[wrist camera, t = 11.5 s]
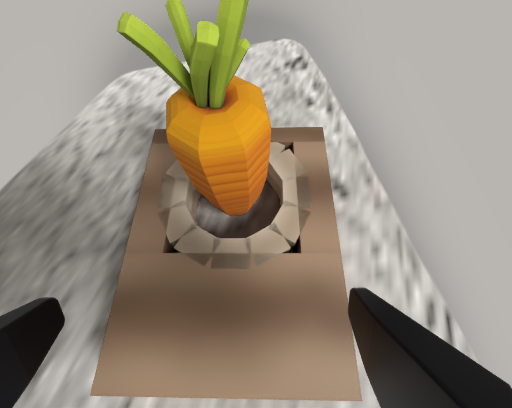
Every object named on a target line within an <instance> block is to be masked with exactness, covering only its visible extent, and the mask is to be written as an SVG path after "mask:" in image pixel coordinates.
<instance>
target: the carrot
mask: <svg viewBox="0 0 512 408" xmlns="http://www.w3.org/2000/svg"><path fill="white" fill-rule="evenodd" d="M247 5H248V0H220V5H219V10H218V16H217V23H216V25H214V24H213V23H211V22H209V21H206V22H198V26H197V30H196V35H195V39H194V38H193V34H192V31H191V27H190V23H189V20H188V17H187V14H186V12H185V8H184V6H183V4H182V2H181V0H168V1H167V3H166V9H167V12H168V15H169V18H170V20H171V23H172V25H173V28H174V30H175V33H176V36H177V39H178V41H179V44H180V46H181V49H182V52H183V54H184V57H185V60H186V62H187V64H188V66H189V68H190V74H189V72H188V71H187V70H186V68H185V67H184V66H183V64H182V63H181V62H180V61H179V60H178V58H177V57H176V56H175V54H174V53H173V52H172V51H171V49H170V48H169V47H168V45H167V44H166V43H165V42H164V40H163V39H162V38H161V37H160V36H159V35H157V34H156V33H155V32H154V31H153V30H152V29H151V28H150V27H148V26H147V25H146V24H145V23H143V22H142V21H141V20H139V19H138V18H136V17H135V16H133V15H131V14H129V13H127V12H125V13H123V14H122V16H121V18H120V20H119V21H118V27H117V31H118V32H119V33H120V34H121V35H123V36H124V37H125V38H126V39H128V40H129V41H131V42H132V43H133V44H134V45H136V46H137V47H138V48H140V49H141V50H142V51H143V52H145V53H146V54H147V55H148V56H149V57H150V58H151V59H152V60H153V61H154V62H155V63H156V64H157V65H158V66H159V67H161V68H162V69H163V70H164V71H165V72H166V73H167V74H168V75H169V76H170V77H171V78H172V79H173V80H174V81H175V82H176V83H177V84H178V85H179V86H180V87H181V88H180V89H179V90H178V91H177V92H175V93H174V94H173V95H172V96H171V97H170V98H169V99H168V101H167V102H166V133H167V140H168V143H169V146H170V147H171V149H172V151H173V152H174V154H175V156H176V158H177V159H178V161H179V163H180V164H181V166H182V168H183V170H184V171H185V173H186V174H187V176H188V177H189V179H190V180H191V182H192V183H193V185H194V186H195V188H196V189H197V190H198V191H199V192H200V193H201V194H202V195H203V196H204V197H205V198H206V199H207V200H208V201H209V202H211V203H212V204H213V205H214V206H216V207H217V208H219V209H220V210H222V211H223V212H225V213H226V214H228V215H230V216H237V215H243V214H246V213H247V212H248V211H249V209H250V208H251V207H252V206H253V204H254V203H255V202H256V201H257V199H258V198H259V196H260V194H261V192H262V189H263V187H264V184H265V181H266V177H267V172H268V164H269V156H270V142H271V124H270V120H269V116H268V112H267V108H266V104H265V100H264V97H263V93H262V90H261V88H259V87H257V86H256V85H254V84H252V83H249V82H247V81H245V80H243V79H241V78H239V77H236V76H234V74H235V73H236V71H237V69H238V67H239V65H240V64H241V62H242V60H243V58H244V56H245V54H246V52H247V50H248V48H249V47H250V44H249V42H248V41H247V40H246V39H245V38H244V39H240V35H241V31H242V28H243V24H244V20H245V15H246V9H247ZM239 39H240V40H239Z"/></svg>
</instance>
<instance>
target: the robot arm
mask: <svg viewBox="0 0 512 408" xmlns="http://www.w3.org/2000/svg"><path fill="white" fill-rule="evenodd" d="M348 316H349V320H350V323H351V326H352V329H353V332H354V336H355V339H356V342H357V345H358V349H359V352H360V355H361V358H362V361H363V364H364V367H365V370H366V373H367V376H368V378H369V381H370V383H371V386H372V388H373V390H374V393H375V395H376V397H377V400H378V402H379V405H380V407H381V408H512V388H511V387H510V385H509V384H507V383H506V382H505V381H503V380H502V379H500V378H499V377H497V376H496V375H494V374H493V373H491V372H490V371H488V370H487V369H485V368H484V367H482V366H481V365H479V364H478V363H476V362H475V361H473V360H472V359H470V358H469V357H468V356H466V355H465V354H463V353H462V352H460V351H459V350H457V349H456V348H454V347H453V346H451V345H450V344H448V343H447V342H445V341H444V340H442V339H441V338H439V337H438V336H436V335H435V334H433V333H432V332H430V331H429V330H427V329H426V328H424V327H423V326H422V325H420V324H419V323H417V322H416V321H414V320H413V319H411V318H410V317H408V316H407V315H405V314H404V313H402V312H401V311H399V310H398V309H396V308H395V307H393V306H392V305H390V304H389V303H387V302H386V301H384V300H383V299H381V298H380V297H378V296H377V295H376V294H374V293H373V292H371V291H370V290H368V289H366V288H352V289H351V290H350V295H349V304H348ZM64 323H65V317H64V315H63V312H62V309H61V307H60V304H59V302H58V300H57V299H56V298H53V297H49V298H39V299H36V300H34V301H32V302H30V303H28V304H26V305H23V306H21V307H19V308H17V309H15V310H13V311H11V312H8V313H6V314H4V315H2V316H0V408H13V406H14V405H15V403H16V402H17V401H18V399H19V398H20V396H21V395H22V393H23V392H24V390H25V389H26V387H27V386H28V384H29V383H30V381H31V380H32V378H33V377H34V375H35V373H36V372H37V370H38V368H39V367H40V365H41V363H42V362H43V360H44V358H45V357H46V355H47V353H48V352H49V350H50V348H51V346H52V345H53V343H54V341H55V340H56V338H57V336H58V335H59V333H60V331H61V329H62V328H63V326H64Z"/></svg>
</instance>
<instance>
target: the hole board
mask: <svg viewBox="0 0 512 408" xmlns="http://www.w3.org/2000/svg"><path fill="white" fill-rule="evenodd" d="M266 181H267V182H269V183H270V185H271V186H272V188H273V189H274V190H275V192H276V193H277V195H278V196H279V198H280V210H279V212H278V213H277V215H276V217H275V218H274V220H273V222H272V223H271V225H269V226H268V227H266V228H264V229H262V230H260V231H259V232H257V233H255V234H253V235H251V236H249V237H248V238H217V237H215V236H213V235H212V234H210V233H208V232H207V231H205V230H203V229H202V228H200V226H199V224H198V222H197V220H196V215H197V207H198V199H199V198H200V196H201V195H202V194H201V193H200V192H199V191H198V190H197V189H196V188H195V186H194V185H193V183H192V182H191V180H190V179H189V177H188V176H187V174H186V173H185V171H184V170H183V168H182V166H181V164H180V163H179V161H178V159H177V158H176V156H175V154H174V152H173V151H172V149H171V147H170V146H169V143H168V140H167V133H166V129H158V130H155V133H154V137H153V141H152V145H151V149H150V153H149V157H148V161H147V165H146V169H145V173H144V177H143V182H142V186H141V190H140V194H139V198H138V202H137V206H136V210H135V214H134V218H133V222H132V226H131V230H130V235H129V239H128V243H127V247H126V251H125V255H124V259H123V263H122V267H121V271H120V275H119V279H118V283H117V288H116V292H115V296H114V300H113V304H112V308H111V312H110V316H109V320H108V324H107V328H106V332H105V336H104V341H103V345H102V349H101V353H100V357H99V361H98V365H97V369H96V373H95V377H94V381H93V385H92V390H91V394H90V396H129V397H179V398H229V399H278V400H328V401H362V396H361V389H360V382H359V375H358V368H357V362H356V355H355V348H354V341H353V334H352V327H351V323H350V320H349V316H348V299H347V292H346V285H345V278H344V271H343V265H342V258H341V251H340V244H339V237H338V230H337V223H336V216H335V209H334V202H333V195H332V188H331V181H330V174H329V167H328V161H327V154H326V147H325V140H324V133H323V127H296V128H271V142H270V156H269V164H268V172H267V177H266ZM294 247H295V253H291V252H292V250H293V248H294ZM179 252H180V253H179Z"/></svg>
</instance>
